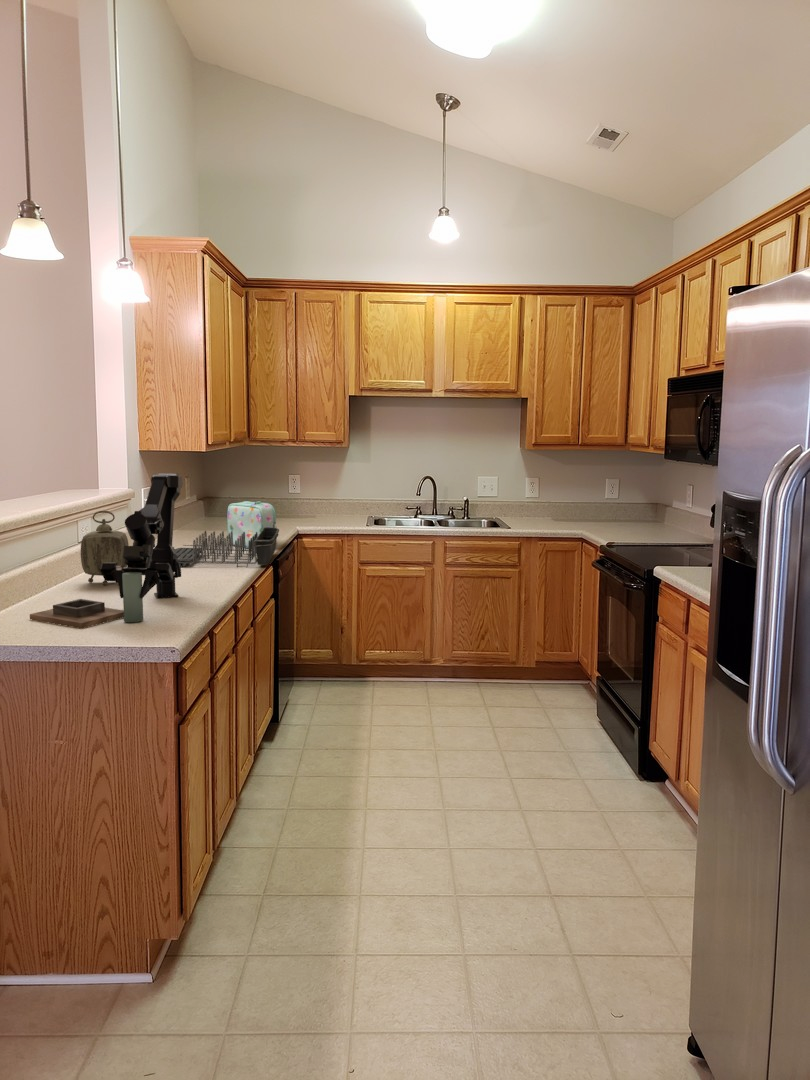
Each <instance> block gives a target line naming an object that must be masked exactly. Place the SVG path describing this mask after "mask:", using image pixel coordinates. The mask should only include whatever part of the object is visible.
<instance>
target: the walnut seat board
mask: <svg viewBox="0 0 810 1080" xmlns="http://www.w3.org/2000/svg"><path fill="white" fill-rule="evenodd" d="M105 606H106V605H105V601H104V602H103V601H98V600H90V599H85V598H84V599H83V598H79V599H78V598H77V599H75V600H69V601H65V602H61V603H56V604H53V605H52V608H51V609H46V610H43V611H39V612H38V611H37V612H33V613H29V620H30V619H32V620H31V621H35V620H38V621H37V622H41V621H42V623H46V622H49V623H48V624H52V623H55V624H54V625H58V624H61V625H60V626H63V625H67V626H66V627H69V626H73V627H72V628H75V627H79V628H78V629H80V628H82V629H85V628H84V627H86V628H89V627H88V626H90V627H93V626H92V625H94V626H96V624H97V625H100V623H101V624H104V623H103V622H105V623H108V622H112V621H115V619H116V620H118V618H119V619H123V618H124V609H118V608H117V609H116V608H110V607H105ZM122 617H123V618H122ZM111 620H112V621H111ZM107 621H108V622H107Z"/></svg>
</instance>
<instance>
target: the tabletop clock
mask: <svg viewBox="0 0 810 1080" xmlns="http://www.w3.org/2000/svg"><path fill="white" fill-rule="evenodd" d="M104 513H105V514H110V515H111V516H112V519H111V520H106V519H105V518H102V520H101V521H100V520H97V519H95V516H97V514H98V515H99V514H104ZM115 518H116V517H115V514H114V513H113V512H111V511H109V510H99V511H96V512H95V513H94V514H93V515H92V520H93V521H94V522H95V523H99V525H98V526H97V527H96V529H95V531H94V530H93V531H90V532H88V533H86V534H84V535H83V536H82V538H81V541H80V562H81V567H82V571H83V572H84V573H85V574H87V575H90V577H89V578H88V580H87V582H88V583H91V584H92V583H93V582H94V576H102V577H103V575H102V573H101V571H100V567H101V565H102V564H103V563H104V562H115V563H117V565H118V566H123V567H127V566H128V565H126V564H125V559H124V558H123V548H124V546H130V544H129V539H128V536H127V534H126V532H123V531H120V530H113V528H112V526H111V525H110V523H112V522H113V521H115ZM108 584H109V581H106V580H105V579H104V578H103V581H102V585H104V586H107V585H108Z"/></svg>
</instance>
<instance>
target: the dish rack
mask: <svg viewBox="0 0 810 1080" xmlns="http://www.w3.org/2000/svg"><path fill="white" fill-rule="evenodd" d="M279 532H280V529H279V528H278V527H277V528H267V527H265V528H263V530H262V531H261V533H260V534H259V536H258V534H257V532H256V534H254V536H253V537H252V538H251V539H250V540H249V542H248V548H246V545H245V532H243V533H242V534H241V536H239V538H237V541H236V540H235V545H233V532H232V531H231V537H230V533H229V539H228V534H227V535H226V536H225V533H224V530H222V531H221V532H219V534H217V536H216V530H213V531H212V532H210V534H207V530H206V529H205V530H204V531H203V532H201V534H198V537H195V539H193V541H192V544H182V546H185V547H177V548H175V546H172V547H173V549H174V551H175V553H176V554H177V559H178V562H179V564H181V566H183V567H184V564H189V565H190V564H215V565H216V564H217V565H219V564H220V565H222V564H225V565H226V564H233V565H234V564H235V565H236V568H238V567H244V566H239V565H241V564H244V565H246V568H248V566H249V565H250V564H251V565H253V564H257V566H267V565H268V564H269V563H270V562H271V559H272V558H273V555H274V554H275V552H276V548H277V542H278V541H277V540H278V539H277V538H278V537H279ZM242 546H243V547H242ZM244 546H245V547H244ZM232 552H234V555H233V553H232ZM219 557H220V558H219ZM230 557H231V558H232V557H233V558H234V560H233V561H230V560H229V561H227V560H228V559H229V558H230ZM201 559H202V560H201ZM220 560H221V561H220ZM239 560H241V561H239ZM242 560H243V561H242ZM247 560H248V561H247ZM252 560H254V561H255V562H253V561H252ZM248 564H249V565H248Z"/></svg>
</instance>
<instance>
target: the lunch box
mask: <svg viewBox="0 0 810 1080" xmlns="http://www.w3.org/2000/svg"><path fill="white" fill-rule="evenodd" d="M226 513H227V515H226V517H227V519H226V521H227V524H226V525H227V527H226V528H227V535H228V540H229V533H230V537H231V531H232V532H233V546H235V540H236V541H237V538H239V536H241V534H242V533H243V532H245V545H246V549H248V542H249V540H250V539H251V538H252V537H253V536H254V534H256V532H257V534H258V536H259V534H260V533H261V531H262V530H263V528H265V527H267V528H277V529H278V527H277V516H276V515H277V513H276V509H275V507H274V506H273V504H270V503H269V502H261V501H260V500H259V501H248V500H246V501H245V500H244V501H241V502H240V501H239V502H236V503H235V502H233V503H230V504H229V505H228V507H227V512H226ZM242 548H243V546H242ZM244 548H245V546H244Z"/></svg>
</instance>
